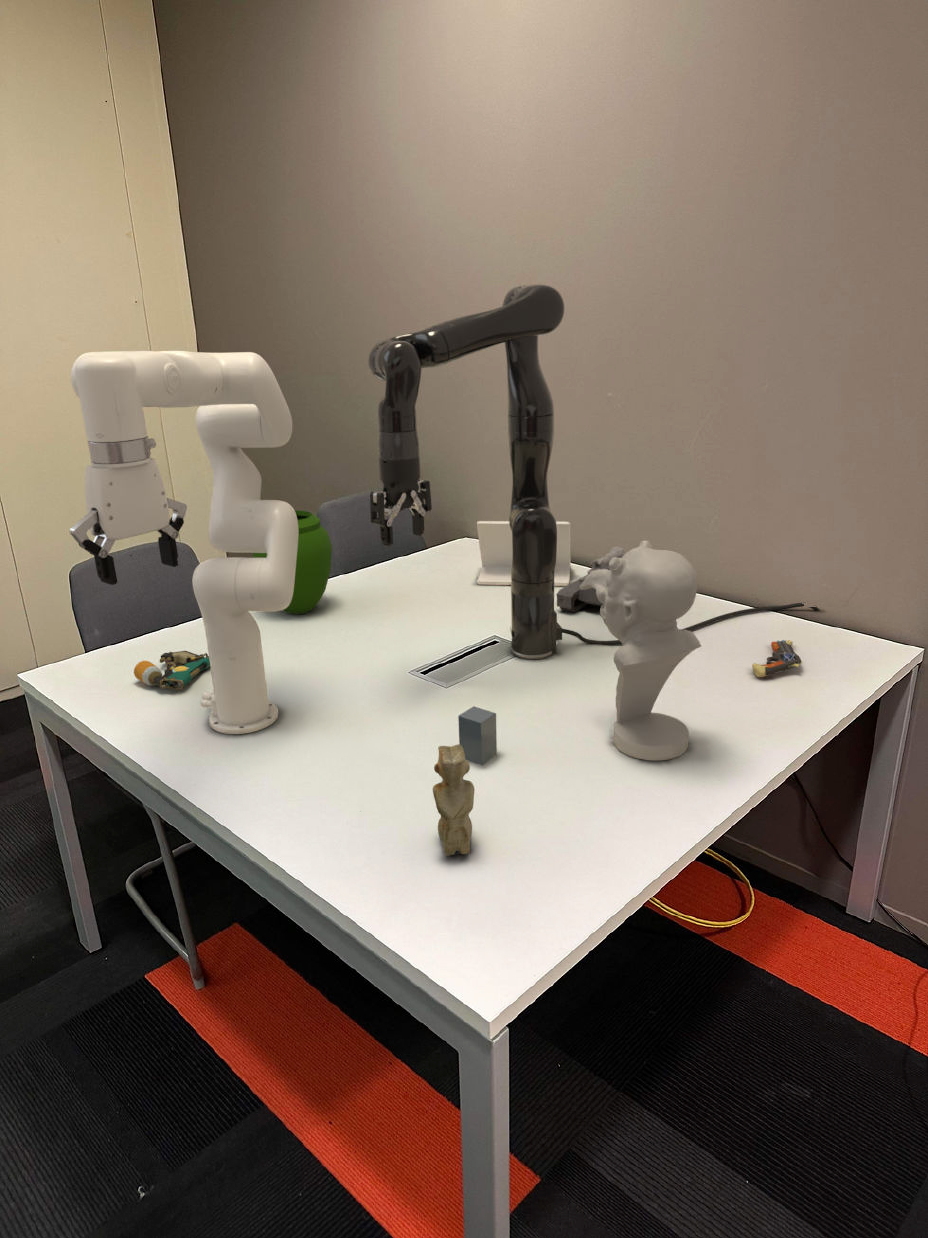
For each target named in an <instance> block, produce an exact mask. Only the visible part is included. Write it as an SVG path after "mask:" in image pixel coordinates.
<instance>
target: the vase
mask: <svg viewBox="0 0 928 1238" xmlns="http://www.w3.org/2000/svg"><path fill="white" fill-rule="evenodd" d="M295 513H296V516H297V520H298V530H299V533H298V548H297V560H296V571H295V582H294V591H293V596H292V600H291V602H290V604H289V606H288V607H287V608H285V609H284V610H281V611H282V612H284V613H287V614H290V615H291V614H292V615H299V614H306V613H308V612H311V611H312V610H314V609H315V608H316V607H317V606H318V605H319V603H320V601H321V600H322V598H323V596H324V593H325V592H326V589H327V585H328V581H329V578H330V574H331V568H332V554H333V544H332V541H331V538H330V535H329V532H328V531H327V530H326V528H325V527H323V526H322V525H321V518H320V517H318V516H316V515H314V514H313V513H312V512H310V511H307V510H295ZM252 556H253V558H266V557H267V553H252Z"/></svg>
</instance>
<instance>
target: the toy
mask: <svg viewBox="0 0 928 1238" xmlns="http://www.w3.org/2000/svg"><path fill="white" fill-rule="evenodd" d="M625 554H626V551H625V549H624V548H622V547H621V546H614V547H612V548H611V549H610V550H609V552H608V553H607V554H605V555H604V556H601V557H599V558H598V559H597V557H596V558H594V559H593V560H592V561H590V562H589V563H590V564H591V565H592V567H591V568H590V569H589V570H587V573H586V575H584V576H582V577H580V578H578V579H577V580H575V581H573V582H570V583H569V585H567V586H563V587H562V588H560V589H559V590H558V591H557V592H556V607H558V608H559V609H560V610H562V611H566V612H572V613H575V612H577V611H579V610H581V609H582V608H585V607H586V606H588V605H592V606H598V607H601V606H602V605H603V603H601V602H600V601H599V600H598V598H597V595H596V589H594V588H590V589H585V590H580V588H579V587H580V585H581V584H582V583H583V581H584V580H585V579H586V577H587V576H588V575H589V574H590V573H591V572H593V571H595V570H600V569H606V570H610V569H609V562H610V560H611V559H612V558H614V557H617V558H622V557H623V556H624V555H625Z"/></svg>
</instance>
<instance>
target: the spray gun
mask: <svg viewBox="0 0 928 1238" xmlns="http://www.w3.org/2000/svg"><path fill="white" fill-rule="evenodd" d="M158 662H159V663H161V664H163V663H165V664H166V668H165V670H163V672H164V674H163V673H162V669H160V668H159V666H157V665H156V664H154V663H152V662H151V661H149V660H141V661H139V662H138V663H136V665H135V666H134V668H133V675H134V677H135V678H136V679H137V680H139V681H140V682H142V683H143V684H145V685H147V686H155V685H157V686H158V687H160V688H161V689H171V690H172V689H173V690H182V689H184V687H185V686H186V685H188V684H189V683H190V682H191V681H192V679H193V678H195V677H196V676H197V675H198V674H200V673H201V672H202V671H203V670H206V669H208V668H209V667H210V660H209V653H207V652H205V653H201V654H197V653H194V652H192V651H191V652H190V651H188V650H180V651H169V652H164V653H162V654H161V655H160V658H159V660H158ZM178 663H179V664H181V665H179V666H176V665H177V664H178Z"/></svg>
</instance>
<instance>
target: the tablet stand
mask: <svg viewBox="0 0 928 1238" xmlns="http://www.w3.org/2000/svg"><path fill="white" fill-rule="evenodd" d="M556 524H557V554H556V566H555V571H554V587H556V586H557V587H566V586H567V585H569V584H570V580H571V579H570V578H571V565H572V564H571V560H572V558H571V522H569V521H556ZM476 531H477V537H478V544H479V551H480V557H481V558H480V559H481V570H480V573H479V575H478V577H477V580H476V581H477V582H476V584H478V585H484V586H485V585H486V586H487V585H489V586H490V585H491V586H511V565H512V532H511V529H510V524H509V520H505V521H504V520H477V522H476Z"/></svg>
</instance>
